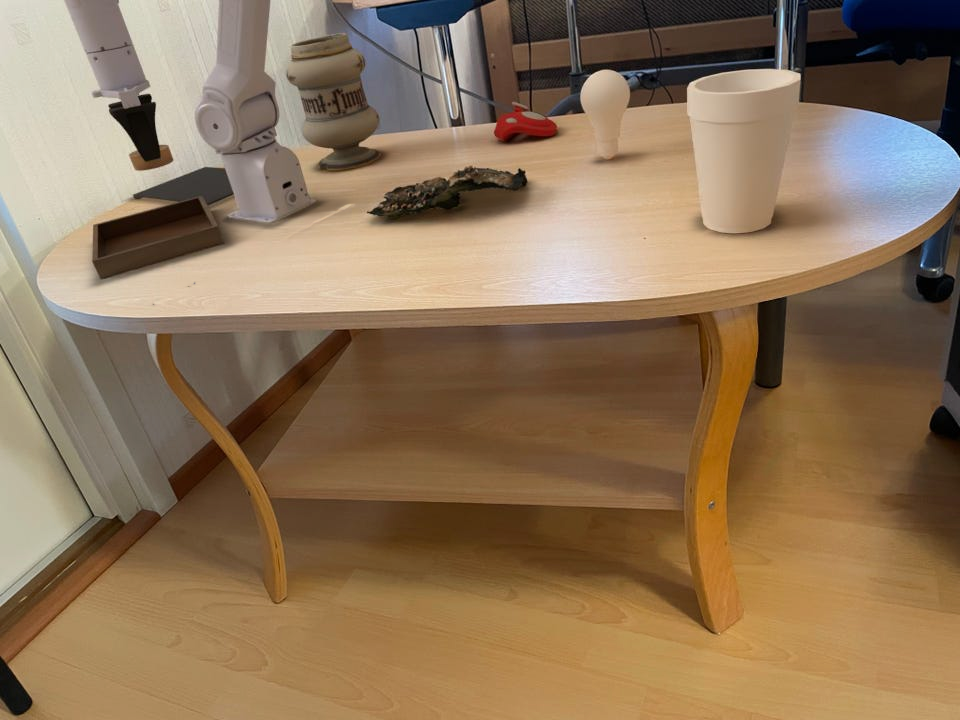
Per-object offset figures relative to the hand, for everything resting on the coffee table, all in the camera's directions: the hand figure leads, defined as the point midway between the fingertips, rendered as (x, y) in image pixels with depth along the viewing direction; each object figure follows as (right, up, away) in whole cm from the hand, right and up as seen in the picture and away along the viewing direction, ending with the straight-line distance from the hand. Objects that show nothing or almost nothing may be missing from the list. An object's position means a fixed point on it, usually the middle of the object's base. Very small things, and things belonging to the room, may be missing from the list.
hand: (151, 155), depth 95 cm
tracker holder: (+52, +7, +14) cm, 55 cm away
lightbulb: (+62, -2, -4) cm, 62 cm away
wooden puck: (0, -1, +1) cm, 1 cm away
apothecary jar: (+24, +3, +15) cm, 29 cm away
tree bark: (+41, -9, -10) cm, 43 cm away
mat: (+2, -1, +15) cm, 15 cm away
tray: (+4, -13, -7) cm, 15 cm away
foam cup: (+70, -14, -27) cm, 76 cm away
